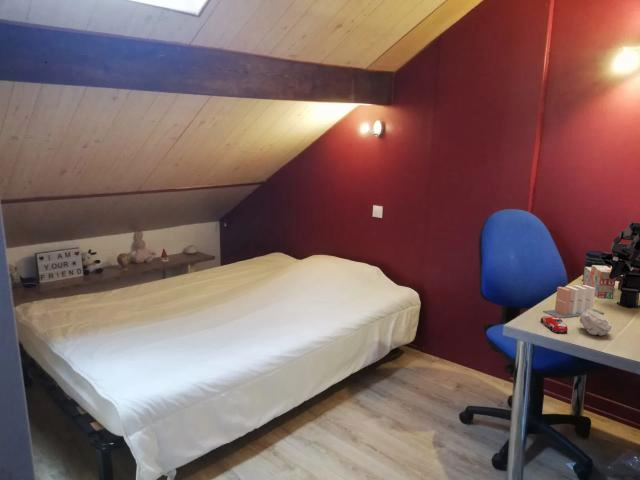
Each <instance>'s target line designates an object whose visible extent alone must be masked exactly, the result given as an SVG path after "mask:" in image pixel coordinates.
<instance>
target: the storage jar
mask: <svg viewBox="0 0 640 480" xmlns="http://www.w3.org/2000/svg"><path fill="white" fill-rule="evenodd" d="M602 252H603V251H599V250H586V251H585V256H584V268H585V267H592V265H599V266H607V267H608V265H606V264H604V262H603V261H602V259H601V258H600V257H599V255H600V254H601V253H602ZM583 278H584V270H583V271H582V280H581V281H582V282H583Z"/></svg>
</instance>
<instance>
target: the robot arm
mask: <svg viewBox="0 0 640 480" xmlns="http://www.w3.org/2000/svg"><path fill="white" fill-rule="evenodd" d="M622 240H627V241H630V243H621V241H622ZM601 252H602V253H601V254H600V255H599V257H600V258H601V259H602V261H603V262H604V264H606V265H607V266H608V267H611V268H610V269H611V272H610V275H609V278H610V279H614V278H616V279H617V278H619V277H621V276H622V277H621V278H620V280H619V282H618V283H617V289H618V290H619V291H620V292H621V293H620V296H619V301H616V303H615V304H618V305H620V306H623V307H626V308H629V309H632V308H633V309H634V308H640V304H639V301H640V300H639V298H640V222H634V221H633V222H630V223H628V225H627V228H625V229H623V230H620V231H619V234H618V235H617V236H616V237H615V238H613V240H612V243H611V247H610V252H606V251H601Z"/></svg>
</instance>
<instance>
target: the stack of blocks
mask: <svg viewBox="0 0 640 480" xmlns="http://www.w3.org/2000/svg"><path fill="white" fill-rule="evenodd" d="M611 269H612V268H611V267H610V266H608V265H607V266H599V265H592V267H585V266H584V269H583V271H584V278H583V277H582V280H583V281H582V285H587V286H590V287H593V288H595V295H594V297H596V298H598V299H608V300H613V299H614V294H615V292H614V291H615V286H616V280H617V277H616V278H614V279H610V278H609V275H610V272H611Z"/></svg>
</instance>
